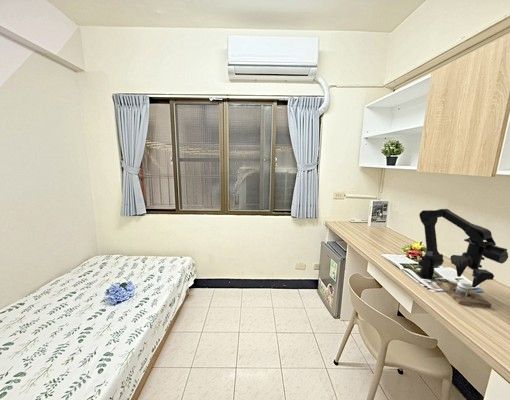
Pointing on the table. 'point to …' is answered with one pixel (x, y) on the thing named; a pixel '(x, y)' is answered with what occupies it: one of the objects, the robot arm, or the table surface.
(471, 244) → the robot arm
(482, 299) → the pin board
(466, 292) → the pill bottle
